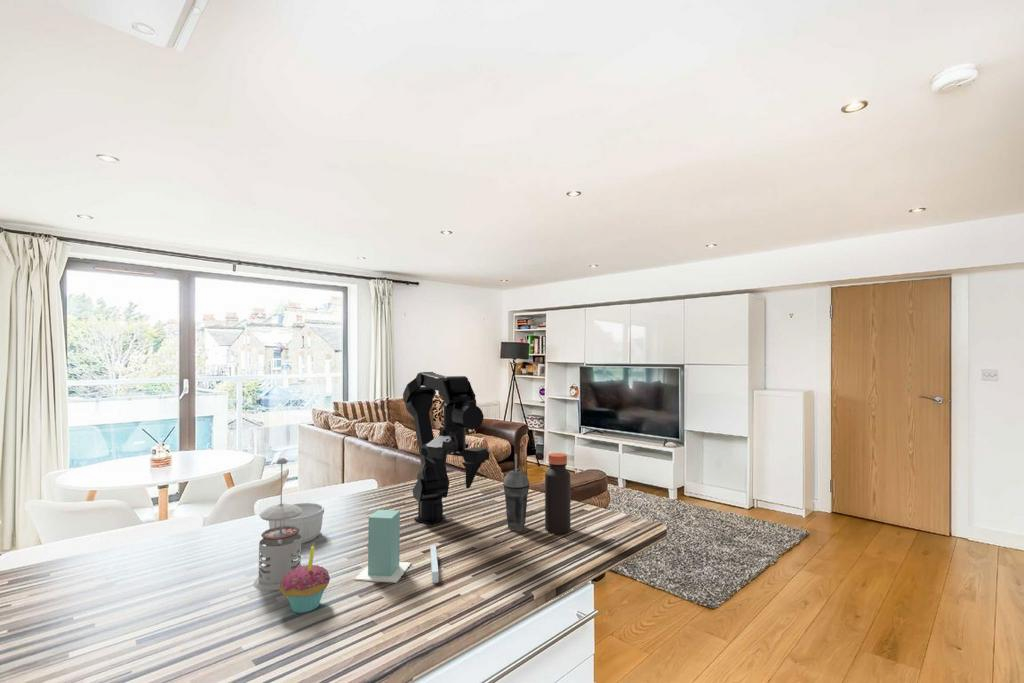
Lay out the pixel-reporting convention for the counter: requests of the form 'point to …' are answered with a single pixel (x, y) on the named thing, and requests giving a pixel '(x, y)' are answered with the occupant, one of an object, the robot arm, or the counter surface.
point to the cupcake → (305, 585)
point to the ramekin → (304, 521)
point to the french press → (277, 556)
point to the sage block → (383, 542)
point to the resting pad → (394, 578)
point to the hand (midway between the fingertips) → (454, 485)
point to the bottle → (557, 495)
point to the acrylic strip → (434, 564)
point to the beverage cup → (516, 497)
